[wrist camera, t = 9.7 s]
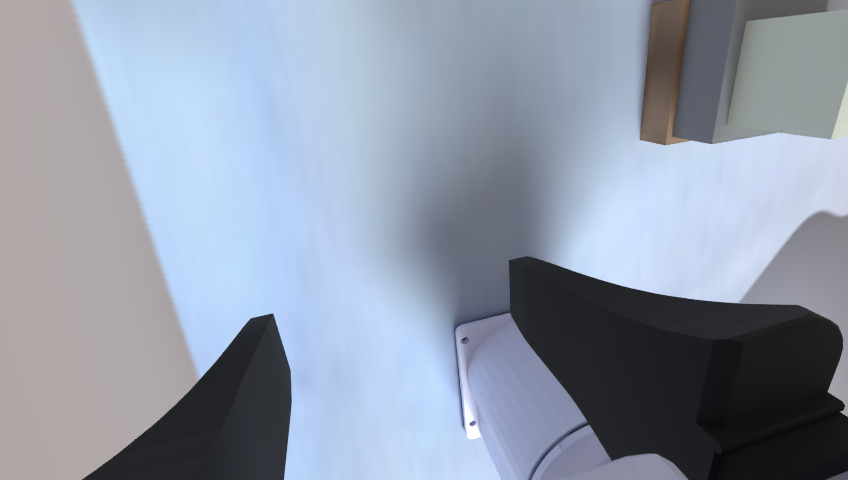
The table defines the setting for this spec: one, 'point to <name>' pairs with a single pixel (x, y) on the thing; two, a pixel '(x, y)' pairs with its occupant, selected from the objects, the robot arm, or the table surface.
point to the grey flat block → (723, 62)
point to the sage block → (794, 76)
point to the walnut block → (664, 71)
